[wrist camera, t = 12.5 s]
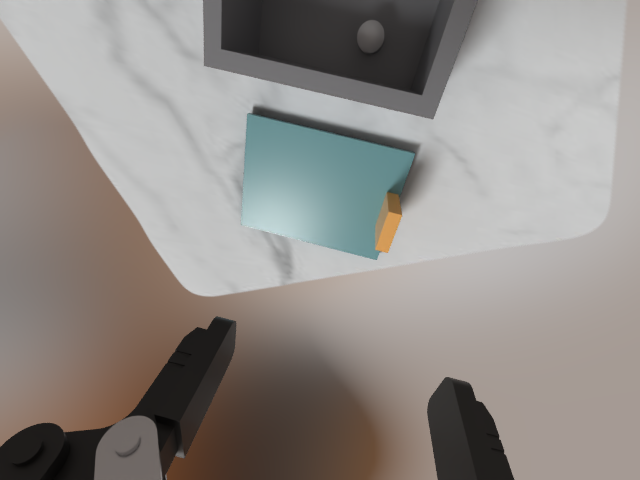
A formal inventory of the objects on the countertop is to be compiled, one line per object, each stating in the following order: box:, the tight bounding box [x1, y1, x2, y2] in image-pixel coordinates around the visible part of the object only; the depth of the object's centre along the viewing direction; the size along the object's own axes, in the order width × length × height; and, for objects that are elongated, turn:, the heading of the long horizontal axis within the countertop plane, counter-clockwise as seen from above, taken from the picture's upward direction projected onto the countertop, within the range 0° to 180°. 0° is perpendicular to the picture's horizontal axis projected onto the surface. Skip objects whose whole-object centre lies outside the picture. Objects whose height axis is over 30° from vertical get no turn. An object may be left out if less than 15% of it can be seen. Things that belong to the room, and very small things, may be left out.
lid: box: [241, 113, 415, 260], centre depth 29 cm, size 16×12×6 cm
